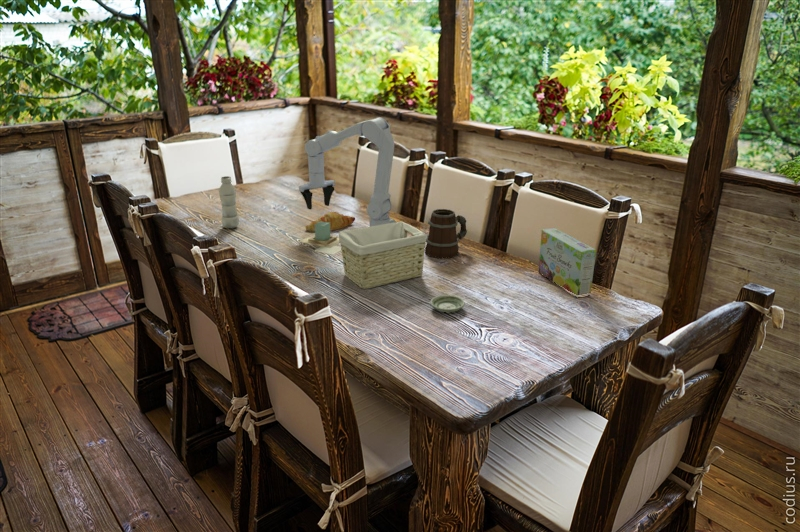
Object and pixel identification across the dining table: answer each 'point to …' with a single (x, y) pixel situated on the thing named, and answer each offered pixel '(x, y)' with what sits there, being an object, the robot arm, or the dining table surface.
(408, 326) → the dining table surface
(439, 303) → the saucer
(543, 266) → the snack box
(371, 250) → the storage basket
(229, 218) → the plastic bottle
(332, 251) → the coaster
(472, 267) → the dining table surface
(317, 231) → the block
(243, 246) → the dining table surface
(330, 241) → the pocket board
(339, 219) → the croissant
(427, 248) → the mug
